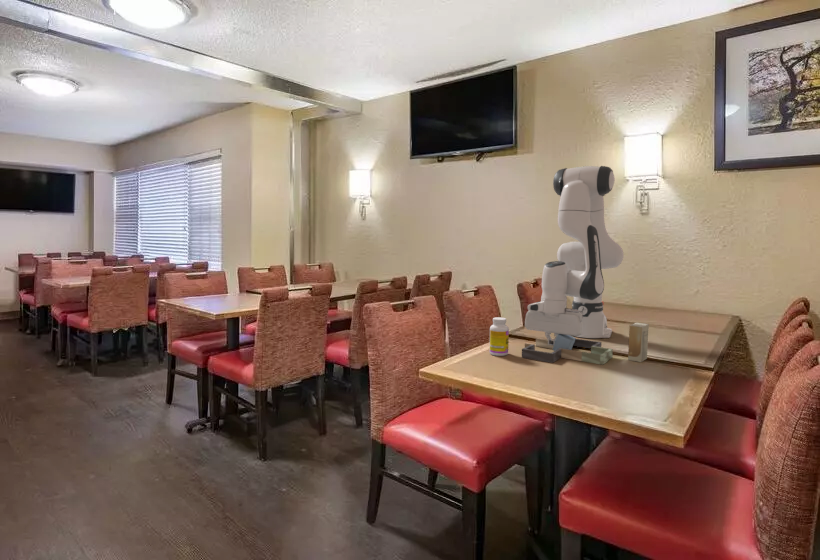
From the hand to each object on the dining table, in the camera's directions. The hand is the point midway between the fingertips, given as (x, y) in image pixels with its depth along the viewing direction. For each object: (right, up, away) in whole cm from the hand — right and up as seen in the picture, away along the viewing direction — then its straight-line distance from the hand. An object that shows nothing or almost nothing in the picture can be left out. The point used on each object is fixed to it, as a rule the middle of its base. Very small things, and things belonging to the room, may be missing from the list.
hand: (552, 344), depth 173 cm
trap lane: (+4, -3, -2) cm, 6 cm away
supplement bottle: (-20, -3, -2) cm, 20 cm away
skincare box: (+26, -4, -9) cm, 28 cm away
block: (+3, -2, -2) cm, 4 cm away
